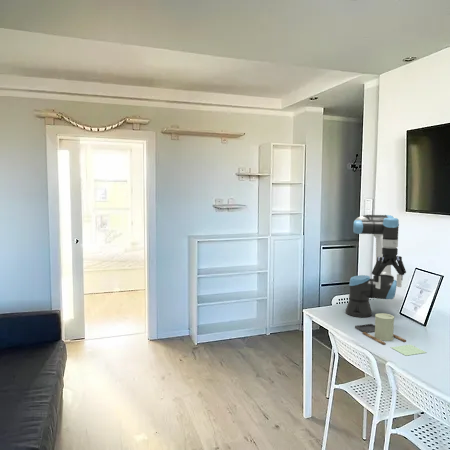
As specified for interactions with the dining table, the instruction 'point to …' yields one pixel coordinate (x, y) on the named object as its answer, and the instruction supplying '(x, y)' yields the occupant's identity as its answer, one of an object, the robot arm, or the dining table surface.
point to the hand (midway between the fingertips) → (388, 287)
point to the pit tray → (366, 328)
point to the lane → (382, 341)
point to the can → (384, 326)
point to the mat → (408, 350)
